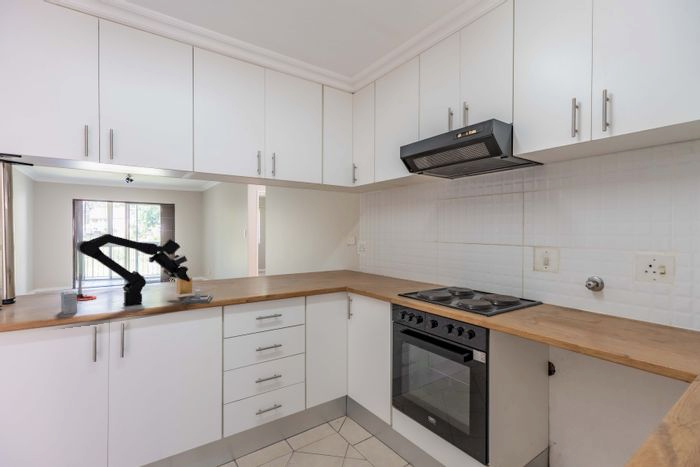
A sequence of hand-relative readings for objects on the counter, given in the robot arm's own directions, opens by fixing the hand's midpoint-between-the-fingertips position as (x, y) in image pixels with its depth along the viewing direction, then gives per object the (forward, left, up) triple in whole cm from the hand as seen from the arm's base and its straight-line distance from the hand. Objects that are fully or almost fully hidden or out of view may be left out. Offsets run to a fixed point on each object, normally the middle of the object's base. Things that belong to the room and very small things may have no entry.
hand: (187, 280), depth 174 cm
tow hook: (-40, +28, -9) cm, 50 cm away
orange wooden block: (-1, 0, -7) cm, 7 cm away
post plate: (+1, -14, -9) cm, 17 cm away
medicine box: (-48, 0, -9) cm, 49 cm away
